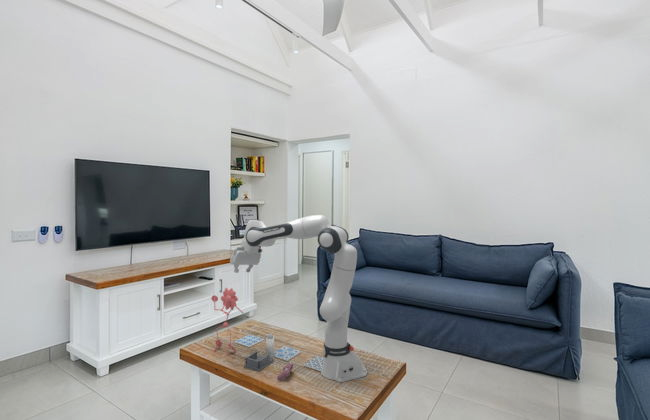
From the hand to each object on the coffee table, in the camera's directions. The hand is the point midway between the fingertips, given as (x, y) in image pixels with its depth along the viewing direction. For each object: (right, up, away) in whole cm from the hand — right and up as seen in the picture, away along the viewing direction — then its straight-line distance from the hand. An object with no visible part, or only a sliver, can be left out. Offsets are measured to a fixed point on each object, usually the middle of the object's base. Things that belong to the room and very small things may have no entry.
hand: (242, 272), depth 177 cm
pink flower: (-9, -45, +6) cm, 46 cm away
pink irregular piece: (+27, -46, -22) cm, 57 cm away
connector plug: (+16, -45, -2) cm, 48 cm away
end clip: (+11, -45, -11) cm, 48 cm away
